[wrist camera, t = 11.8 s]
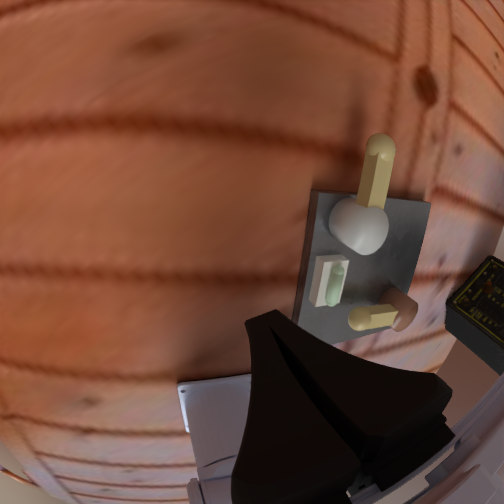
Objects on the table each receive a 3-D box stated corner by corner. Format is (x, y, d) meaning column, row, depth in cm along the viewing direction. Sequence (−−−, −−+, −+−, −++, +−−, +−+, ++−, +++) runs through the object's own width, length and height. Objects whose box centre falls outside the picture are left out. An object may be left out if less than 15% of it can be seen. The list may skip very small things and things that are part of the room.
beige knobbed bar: (404, 286, 27) (424, 301, 24) (392, 314, 28) (411, 330, 25) (343, 289, 24) (364, 308, 21) (331, 322, 25) (350, 343, 22)
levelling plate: (389, 321, 30) (395, 326, 29) (287, 345, 26) (291, 353, 25) (422, 200, 25) (431, 203, 24) (311, 189, 21) (319, 192, 19)
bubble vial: (332, 296, 24) (344, 308, 22) (308, 299, 23) (320, 313, 21) (341, 254, 22) (355, 264, 20) (316, 255, 22) (330, 267, 20)
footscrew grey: (358, 241, 22) (383, 257, 19) (324, 239, 21) (348, 256, 18) (380, 138, 19) (409, 142, 16) (346, 126, 18) (375, 127, 15)
